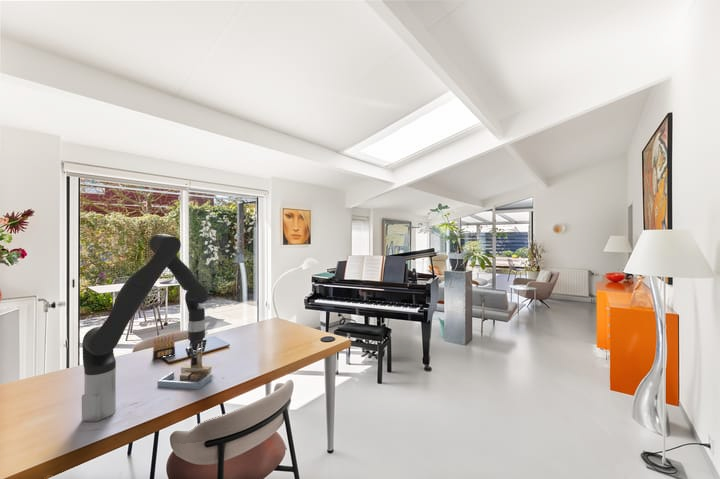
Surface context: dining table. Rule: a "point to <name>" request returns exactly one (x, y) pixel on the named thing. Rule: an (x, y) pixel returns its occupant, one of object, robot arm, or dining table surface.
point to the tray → (179, 384)
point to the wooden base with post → (197, 366)
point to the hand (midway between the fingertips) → (196, 363)
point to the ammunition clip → (163, 348)
